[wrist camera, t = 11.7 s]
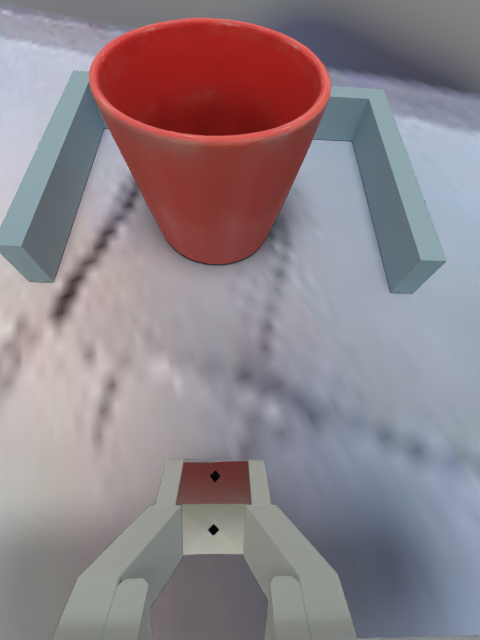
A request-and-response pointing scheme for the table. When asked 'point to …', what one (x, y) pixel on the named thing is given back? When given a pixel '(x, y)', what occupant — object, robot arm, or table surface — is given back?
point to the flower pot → (211, 126)
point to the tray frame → (336, 124)
